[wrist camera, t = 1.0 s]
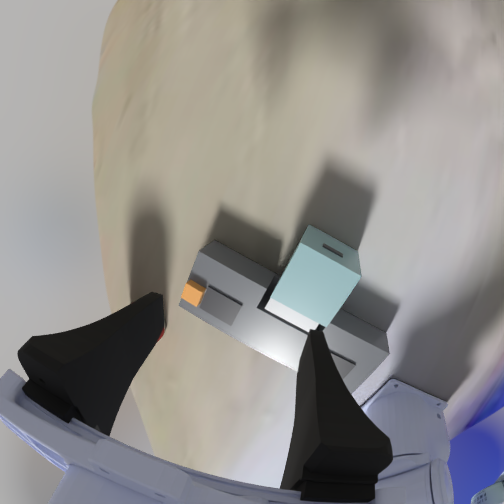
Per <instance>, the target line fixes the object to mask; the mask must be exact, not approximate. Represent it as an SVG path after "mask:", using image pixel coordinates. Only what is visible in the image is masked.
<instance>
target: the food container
mask: <svg viewBox="0 0 504 504" xmlns="http://www.w3.org/2000/svg"><path fill="white" fill-rule="evenodd" d="M471 504H504V481H501V482H498V483H495V484H493V485H490V486H488V487H486V488H485V489H483V490H481V491H480V492H478V493H477V494H475V495H474V496H473V497H472V499H471Z"/></svg>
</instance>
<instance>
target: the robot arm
mask: <svg viewBox="0 0 504 504" xmlns="http://www.w3.org/2000/svg"><path fill="white" fill-rule="evenodd" d="M164 326H165V324H164V309H163V295H161V294H157V293H154V292H151V293H149V294H147V295H145V296H144V297H142V298H140V299H138V300H137V301H135V302H133V303H132V304H130V305H128V306H126V307H124V308H123V309H121V310H119V311H117V312H115V313H113V314H111V315H109V316H107V317H105V318H103V319H101V320H98V321H96V322H94V323H91V324H89V325H86V326H83V327H80V328H76V329H73V330H69V331H66V332H61V333H55V334H49V335H41V336H32V337H31V338H30V339H29V340H28V341H27V342H26V343H25V344H24V345H23V346H22V347H21V348H20V349H19V350H18V358H19V361H20V363H21V365H22V367H23V368H24V370H25V372H26V374H27V375H28V377H29V380H28V381H27V382H25V380H24V379H23V378H21V377H20V376H19V375H17V374H16V373H15V372H13V371H12V370H11V369H8V370H7V372H6V373H5V374H4V375H3V376H2V377H1V378H0V420H1V421H2V422H3V423H4V424H5V425H6V426H7V427H8V428H9V429H10V430H11V431H12V432H14V433H15V434H16V435H17V436H18V437H20V438H21V439H22V440H23V441H24V442H26V443H27V444H28V445H29V446H30V447H32V448H33V449H34V450H36V451H37V452H38V453H39V454H41V455H42V456H43V457H45V458H46V459H47V460H49V461H50V462H51V463H53V464H54V465H56V466H57V467H58V468H60V469H61V470H63V471H64V472H66V473H65V475H64V476H63V478H62V480H61V481H60V483H59V485H58V487H57V488H56V490H55V492H54V494H53V495H52V497H51V499H50V500H49V502H48V504H454V503H453V502H454V498H453V487H452V481H451V476H450V472H449V468H448V466H447V461H448V458H449V454H450V442H449V437H448V432H447V427H446V422H445V417H444V413H443V410H444V409H445V408H446V407H447V406H448V404H447V402H446V401H443V400H441V399H439V398H436V397H434V396H432V395H429V394H427V393H425V392H423V391H420V390H418V389H416V388H414V387H412V386H409V385H407V384H405V383H403V382H401V381H398V380H396V379H391V380H389V381H388V382H387V383H386V384H385V385H384V386H383V387H382V388H381V389H380V390H379V391H378V392H377V393H376V394H375V395H374V396H373V397H372V398H371V399H370V400H369V401H368V402H366V403H365V404H364V405H363V406H362V407H361V408H360V406H359V405H358V404H357V402H356V401H355V399H354V398H353V396H352V395H351V393H350V392H349V390H348V388H347V387H346V385H345V383H344V381H343V379H342V377H341V375H340V373H339V371H338V369H337V367H336V365H335V362H334V360H333V358H332V355H331V353H330V350H329V347H328V344H327V341H326V338H325V335H324V333H323V331H318V330H313V329H310V330H309V333H308V336H307V339H306V342H305V345H304V348H303V351H302V354H301V357H300V361H299V367H298V373H297V384H296V404H295V419H294V427H293V432H292V438H291V443H290V448H289V453H288V457H287V462H286V466H285V470H284V474H283V478H282V482H281V486H280V489H278V488H271V487H265V486H259V485H254V484H249V483H244V482H239V481H235V480H230V479H226V478H222V477H218V476H214V475H210V474H207V473H203V472H200V471H196V470H193V469H190V468H187V467H183V466H180V465H177V464H174V463H172V462H169V461H166V460H163V459H160V458H158V457H155V456H152V455H150V454H147V453H145V452H142V451H140V450H138V449H135V448H133V447H131V446H128V445H126V444H124V443H122V442H120V441H117V440H115V439H113V438H111V437H109V436H110V433H111V429H112V426H113V423H114V421H115V418H116V415H117V413H118V411H119V408H120V406H121V403H122V401H123V399H124V397H125V394H126V392H127V390H128V388H129V386H130V384H131V382H132V380H133V378H134V376H135V375H136V373H137V372H138V370H139V369H140V367H141V366H142V364H143V363H144V361H145V360H146V358H147V357H148V355H149V354H150V352H151V350H152V349H153V347H154V346H155V344H156V343H157V341H158V339H159V337H160V335H161V333H162V331H163V328H164ZM396 384H398V385H396Z"/></svg>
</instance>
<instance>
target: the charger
mask: <svg viewBox="0 0 504 504" xmlns="http://www.w3.org/2000/svg"><path fill="white" fill-rule="evenodd" d="M360 278H361V269H360V262H359V255H358V251H356V250H355V249H353V248H351V247H349V246H347V245H346V244H344V243H342V242H340V241H339V240H337V239H335V238H333V237H331V236H330V235H328V234H326V233H324V232H322V231H320V230H319V229H317V228H315V227H313V226H311V225H308V227H307V229H306V231H305V232H304V234H303V236H302V238H301V240H300V242H299V244H298V246H297V247H296V249H295V251H294V253H293V255H292V257H291V258H290V260H289V262H288V264H287V266H286V268H285V269H284V271H283V273H282V275H281V277H280V279H279V281H278V283H277V285H276V287H275V289H274V291H273V293H272V295H271V297H270V299H269V301H268V303H267V305H266V307H265V309H266V310H268V311H270V312H271V313H273V314H275V315H277V316H279V317H281V318H283V319H284V320H286V321H288V322H290V323H292V324H294V325H296V326H298V327H299V328H301V329H303V330H305V331H307V332H309V330H310V329H313V330H315V329H316V328H317V326H318V325H319V324H321V325H323V326H324V327H327V326H328V325H329V323H330V322H331V320H332V319H333V318H334V316H335V315H336V313H337V312H338V311H339V309H340V308H341V306H342V305H343V303H344V302H345V300H346V299H347V298H348V296H349V295H350V293H351V292H352V290H353V289H354V287H355V286H356V284H357V283H358V281H359V280H360Z"/></svg>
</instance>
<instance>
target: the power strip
mask: <svg viewBox="0 0 504 504" xmlns="http://www.w3.org/2000/svg"><path fill="white" fill-rule="evenodd" d="M280 277H281V276H280V275H278V274H276V273H274V272H272V271H270V270H269V269H267V268H265V267H263V266H261V265H259V264H258V263H256V262H254V261H252V260H250V259H248V258H247V257H245V256H243V255H241V254H239V253H237V252H236V251H234V250H232V249H230V248H228V247H226V246H225V245H223V244H221V243H219V242H217V241H216V240H214V241H212V242H211V243H209V244H208V245H207V246H205V247H204V248H202V249H201V250H199V252H198V254H197V257H196V260H195V262H194V265H193V268H192V270H191V273H190V276H189V278H188V281H187V283H186V285H185V288H184V290H183V293H182V296H181V301H180V303H179V306H180V307H182V308H183V309H185V310H187V311H188V312H190V313H192V314H193V315H195V316H197V317H198V318H200V319H202V320H203V321H205V322H207V323H208V324H210V325H212V326H213V327H215V328H217V329H219V330H220V331H222V332H224V333H226V334H227V335H229V336H231V337H233V338H235V339H236V340H238V341H240V342H242V343H244V344H245V345H247V346H249V347H251V348H253V349H255V350H256V351H258V352H260V353H262V354H264V355H266V356H268V357H270V358H272V359H273V360H275V361H277V362H279V363H281V364H283V365H285V366H287V367H289V368H291V369H293V370H295V371H297V372H298V367H299V361H300V357H301V354H302V351H303V348H304V345H305V342H306V339H307V336H308V333H309V332H307V331H305V330H303V329H301V328H299V327H298V326H296V325H294V324H292V323H290V322H288V321H286V320H284V319H283V318H281V317H279V316H277V315H275V314H273V313H271V312H270V311H268V310H266V309H265V307H266V305H267V303H268V301H269V299H270V297H271V295H272V293H273V291H274V289H275V287H276V285H277V283H278V281H279V279H280ZM315 330H318V331H323V333H324V335H325V338H326V341H327V344H328V347H329V350H330V353H331V355H332V358H333V360H334V362H335V365H336V367H337V369H338V371H339V373H340V375H341V377H342V379H343V381H344V383H345V385H346V387H347V388H348V390H349V392H350V393H351V394H352V393H353V392H354V391H355V390H356V389H357V388H358V387H359V386H360V385H361V384H362V383H363V382H364V381H365V380H366V379H367V378H368V377H369V376H370V375H371V374H372V373H373V372H374V370H375V369H376V368H377V367H378V366H379V365H380V364H381V363H382V362H383V361H384V360H385V358H386V357H387V356H388V355H389V354H390V353H389V346H388V340H387V335H386V333H385V332H383V331H382V330H380V329H378V328H376V327H374V326H372V325H370V324H368V323H367V322H365V321H363V320H361V319H359V318H357V317H355V316H354V315H352V314H350V313H348V312H346V311H344V310H342V309H339V311H338V312H337V313H336V315H335V316H334V318H333V319H332V320H331V322H330V323H329V325H328V326H327V327H324V326H323V325H321V324H319V325H318V326H317V328H316V329H315Z"/></svg>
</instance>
